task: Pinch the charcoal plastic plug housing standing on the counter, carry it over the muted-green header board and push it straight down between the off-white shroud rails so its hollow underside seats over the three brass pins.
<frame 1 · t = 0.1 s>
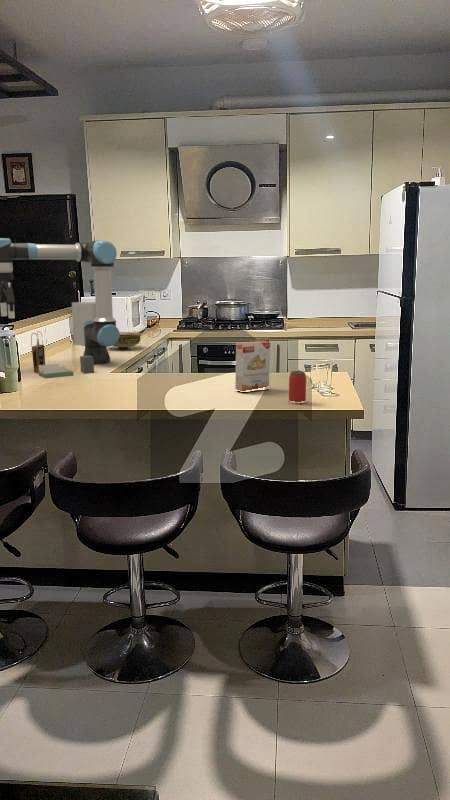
hand: (7, 317, 296), 28 cm above the countertop, tool pointing down, fingers open, 13 cm apart
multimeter: (46, 371, 311), on the countertop
plug: (87, 372, 308), on the countertop
ceramic bowl: (123, 349, 391), on the countertop
tall grey upright block: (91, 345, 412), on the countertop
beer can: (297, 403, 240), on the countertop
board: (56, 375, 299), on the countertop
cracker box: (252, 391, 263), on the countertop
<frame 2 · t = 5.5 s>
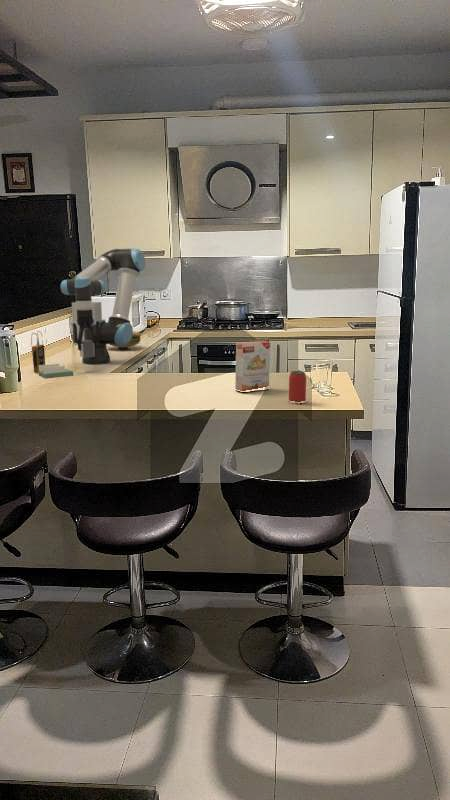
hand: (87, 356, 307), 8 cm above the countertop, tool pointing down, fingers closed on plug, 5 cm apart
plug: (87, 356, 307), point 8 cm above the countertop, touching gripper
everything else where it was.
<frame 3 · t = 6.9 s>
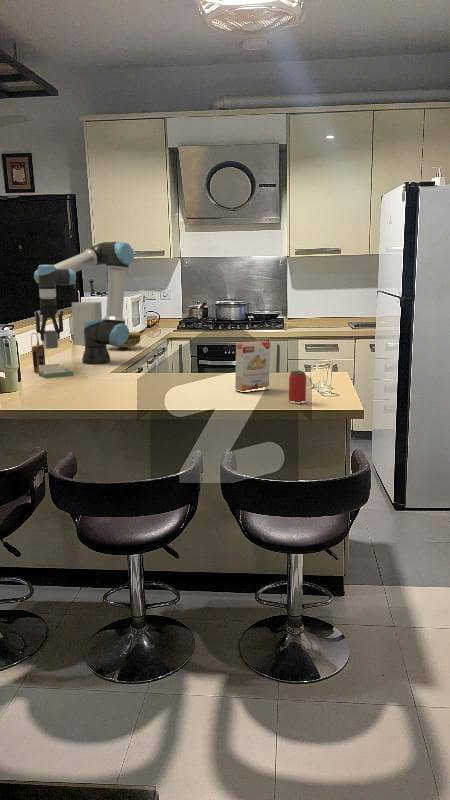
hand: (50, 347, 295), 14 cm above the countertop, tool pointing down, fingers closed on plug, 5 cm apart
plug: (50, 347, 295), point 14 cm above the countertop, touching gripper
everything else where it was.
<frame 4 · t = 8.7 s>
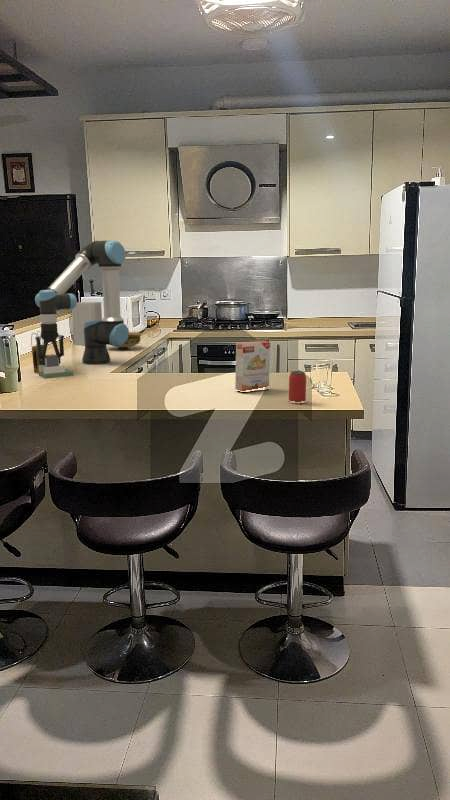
hand: (51, 371, 298), 2 cm above the countertop, tool pointing down, fingers closed on plug, 5 cm apart
plug: (51, 371, 298), point 2 cm above the countertop, touching board, gripper
everything else where it was.
when the fingers open (2 cm above the countertop, at t = 8.8 s): plug stays where it is, resting on board.
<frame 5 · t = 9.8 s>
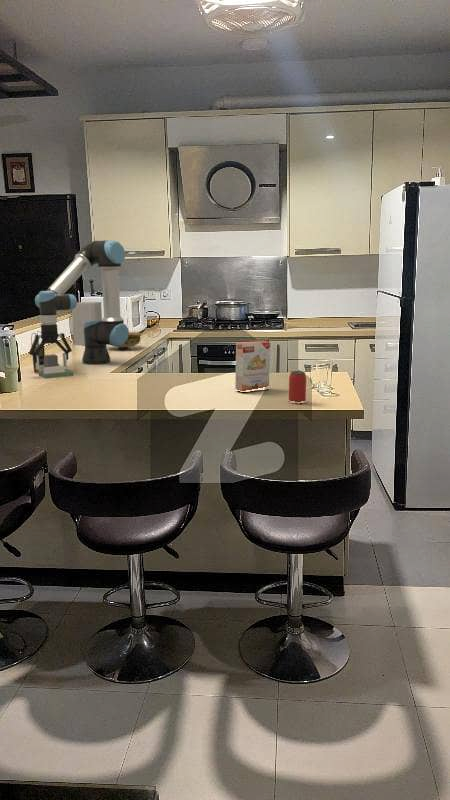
hand: (51, 368, 297), 4 cm above the countertop, tool pointing down, fingers open, 13 cm apart
plug: (51, 371, 298), point 2 cm above the countertop, touching board
everything else where it was.
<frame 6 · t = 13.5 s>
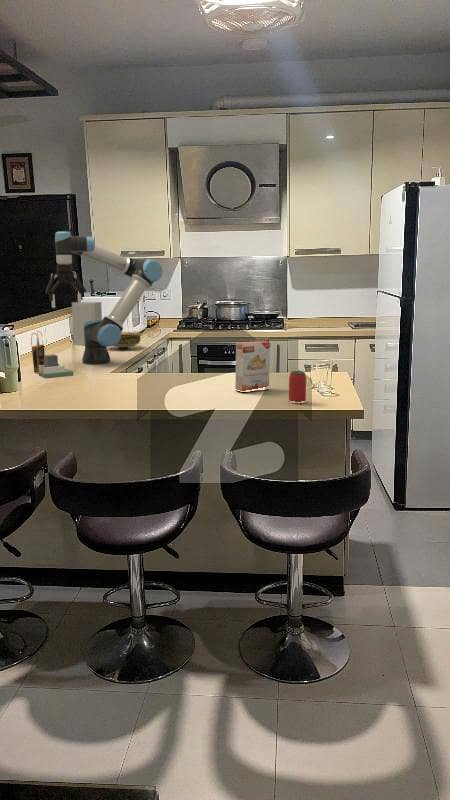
hand: (66, 307, 310), 32 cm above the countertop, tool pointing down, fingers open, 13 cm apart
nothing on the countertop moved.
at the end: plug 0.1 cm from the target spot on the board, point 2.0 cm above the board's base; plug tilted 0°; the gripper is holding nothing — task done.
